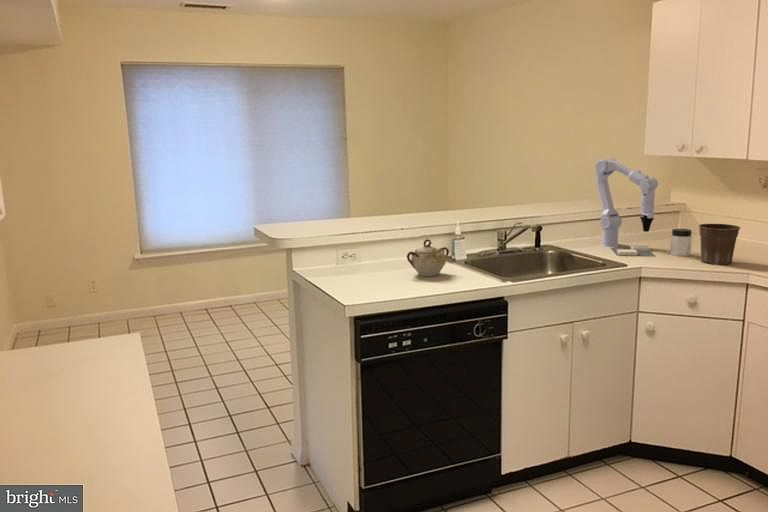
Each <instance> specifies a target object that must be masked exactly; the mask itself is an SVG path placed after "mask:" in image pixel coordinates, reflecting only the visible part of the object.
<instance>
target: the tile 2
mask: <svg viewBox="0 0 768 512" xmlns="http://www.w3.org/2000/svg"><path fill="white" fill-rule="evenodd" d="M629 248H630V249H631V250H636V251H650V252H651V247H650V246H648V245H629Z"/></svg>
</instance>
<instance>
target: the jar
mask: <svg viewBox="0 0 768 512" xmlns="http://www.w3.org/2000/svg"><path fill="white" fill-rule="evenodd" d="M692 242H693V236H692V229H688V228H673V229H672V231H671V235H670V244H669V245H670V247H669V255H672V256H677V257H680V256H681V257H687V256H691V255H692V254H691V253H692V244H693V243H692Z"/></svg>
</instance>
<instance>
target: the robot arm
mask: <svg viewBox="0 0 768 512" xmlns="http://www.w3.org/2000/svg"><path fill="white" fill-rule="evenodd" d="M594 169H595V177H594V178H595V183H596V184H595V185H596V188H597V191H598V196H599V200H600V204H601V208H602V212H601V213H600V226H601V228H602V232H603V233H602V243H603V244H601V243H600V245H601V246H602V247H604V248H620V245H619V244H618V243H619V229H620V227H621V226H622V223H623V222H622V221H623V219H622V217H621V216H620V213H619V211H618V210H616V209H615V207H614V201H613V197H612V194H611V189H610V185H609V180H608V178H609V177H610V176H611V175H612V174H613V173H614V172H615V171H616V172H618V173H621V174H622V175H624V176H626V177H627V178H628V180H629V181H630V182H632V183H633V184H636V185H637V186H639V188H640V190H641V202H640V213H639V214H640V215H642V216H639V218H640V221H641V223H642V230H643V232H645V233H646V232H647V233H648V232H650V229H651V225H652V223H653V220H654V215H657V212H656V211H654V210H655V196H656V189H657V187H658V186H659V185H658V184H659V181H658V179H656V178H655V177H654V176H653V177H649V175H647V174H644V173H642V171H641V170H640V169H637V170H635V169H634V170H632V169H631V168H629V167H628V166H626V165H624V164H623V163H622V162H620V161H619V160H616V159H614V158H609V159H608V158H607V159H599V160H598V161H597V162H596V164H595V165H594Z"/></svg>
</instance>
